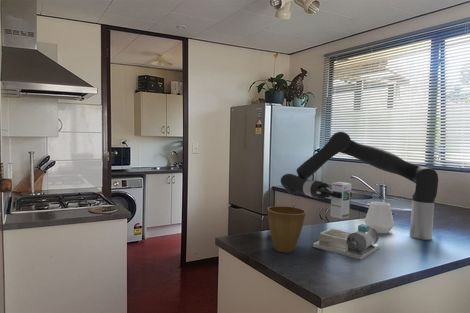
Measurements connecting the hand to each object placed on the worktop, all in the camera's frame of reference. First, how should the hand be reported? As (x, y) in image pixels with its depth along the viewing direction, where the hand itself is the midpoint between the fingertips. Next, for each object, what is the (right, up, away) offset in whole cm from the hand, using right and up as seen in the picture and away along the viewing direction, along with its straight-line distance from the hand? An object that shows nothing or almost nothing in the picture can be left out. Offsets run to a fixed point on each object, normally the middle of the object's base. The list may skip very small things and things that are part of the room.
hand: (346, 195), depth 142 cm
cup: (+26, -21, +30) cm, 45 cm away
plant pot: (-26, -21, -5) cm, 34 cm away
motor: (0, -22, +1) cm, 22 cm away
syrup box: (-2, -10, +3) cm, 10 cm away
